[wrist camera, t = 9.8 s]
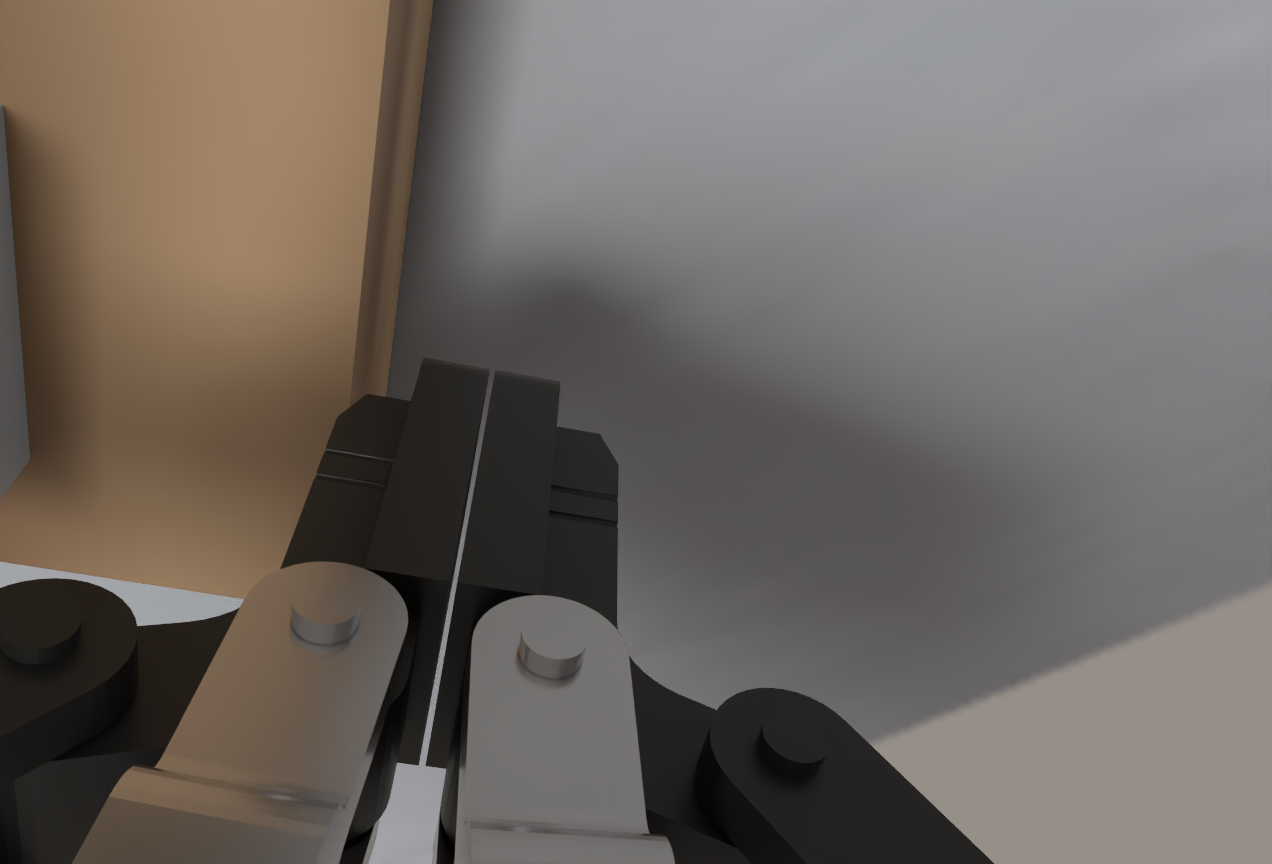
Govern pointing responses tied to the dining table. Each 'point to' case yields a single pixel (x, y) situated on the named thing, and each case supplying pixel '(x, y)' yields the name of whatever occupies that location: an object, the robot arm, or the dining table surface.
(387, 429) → the robot arm
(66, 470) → the board
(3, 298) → the pale blue-gray cube
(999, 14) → the dining table surface
